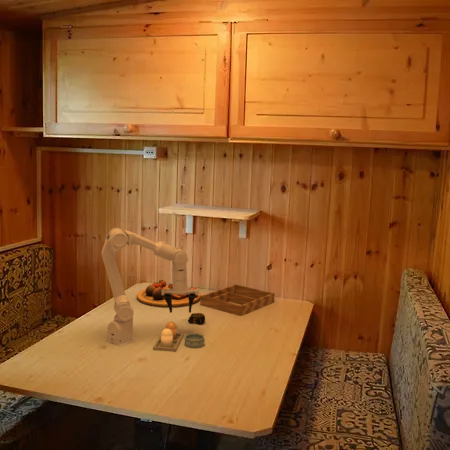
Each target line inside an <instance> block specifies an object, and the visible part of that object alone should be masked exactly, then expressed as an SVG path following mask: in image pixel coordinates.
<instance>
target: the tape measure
mask: <svg viewBox="0 0 450 450" xmlns="http://www.w3.org/2000/svg"><path fill="white" fill-rule="evenodd" d="M205 321H206V316H205V314H204V313H201V312H195V313H191V314H190V316H189V317H188V319H187V322H188V323H189V324H195V325H200V324H201V325H202V324H203V323H205Z"/></svg>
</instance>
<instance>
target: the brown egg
mask: <svg viewBox="0 0 450 450" xmlns="http://www.w3.org/2000/svg"><path fill="white" fill-rule="evenodd" d="M177 327H178V325H177V324H176V322H174V321H168V322H167V323H166V324H165V328H164V329H166V328H168V329H170V330H171V331H172V332H173V340H176V338H177V333H178V331H177V329H178V328H177Z"/></svg>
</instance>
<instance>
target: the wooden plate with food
mask: <svg viewBox="0 0 450 450" xmlns="http://www.w3.org/2000/svg"><path fill="white" fill-rule="evenodd" d="M172 288H173V283H169V284H167V282H166V280H164V279H160V280H159V282H153V283H152V284H148V286H147V287H146V288H143V289H142V290H140V291H139V292H137V294H136V299H137V300H138V302H139V303H142V304H144V305H146V306H149V307H150V306H151V307H156V308H169V307H168V304H167V302H166V301H165V299H164V295H162V289H172ZM187 288H190V289H198V288H197V287H196V286H195V287H194V286H193V287H188V286H187ZM200 296H202V295H201V293H200V292H199V290H198V295H195V298H194V301H193V303H192V305H194V304H196V303H199V302H200ZM186 306H188V307H189V295H172V308H180V307H182V308H183V307H186Z"/></svg>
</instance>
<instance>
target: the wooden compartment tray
mask: <svg viewBox="0 0 450 450" xmlns="http://www.w3.org/2000/svg"><path fill="white" fill-rule="evenodd" d="M274 302H275V293H274V292H269V291H265V290H261V289H257V288H253V287H249V286H244V285H241V284H240V285H239V284H233V285H229V286H227V287H223V288H220V289H218V290H215V291H211V292H209V293H205V294H202V295H201V296H200V300H199V306H202V307H206V308H210V309H212V310H217V311H221V312H225V313H229V314H232V315H235V316H238V317H242V316H245V315H246V314H249V313H252V312H254V311H256V310H258V309H261V308H263V307H265V306H268V305H271V304H274Z"/></svg>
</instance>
